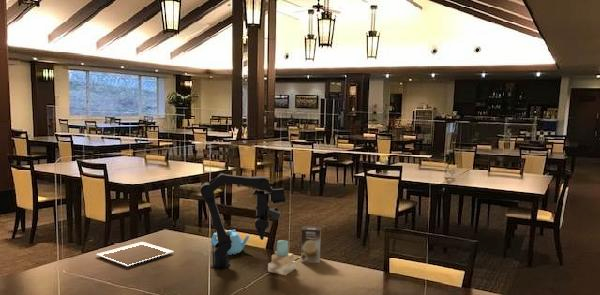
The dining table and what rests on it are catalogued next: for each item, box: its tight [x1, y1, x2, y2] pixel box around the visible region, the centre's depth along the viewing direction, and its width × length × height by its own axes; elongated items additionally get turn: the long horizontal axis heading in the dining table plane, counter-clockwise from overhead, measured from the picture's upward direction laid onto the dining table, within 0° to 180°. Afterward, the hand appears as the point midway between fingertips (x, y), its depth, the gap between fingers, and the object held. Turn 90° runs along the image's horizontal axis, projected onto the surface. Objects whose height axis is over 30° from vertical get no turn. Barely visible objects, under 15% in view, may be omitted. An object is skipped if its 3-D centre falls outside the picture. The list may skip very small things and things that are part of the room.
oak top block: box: [271, 252, 294, 266], centre depth 202 cm, size 7×7×4 cm
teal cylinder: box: [276, 239, 289, 257], centre depth 201 cm, size 5×5×6 cm
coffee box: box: [300, 225, 322, 264], centre depth 215 cm, size 9×6×16 cm
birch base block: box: [267, 260, 296, 276], centre depth 202 cm, size 9×9×4 cm
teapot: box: [210, 229, 250, 256], centre depth 228 cm, size 15×15×11 cm
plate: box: [95, 241, 175, 267], centre depth 219 cm, size 26×26×2 cm
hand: (262, 236), depth 209 cm, fingers open, 9 cm apart
